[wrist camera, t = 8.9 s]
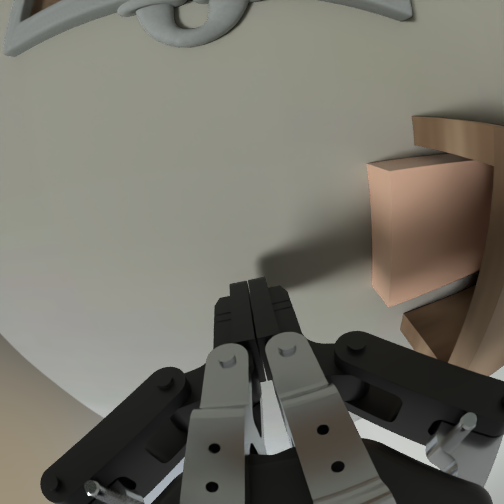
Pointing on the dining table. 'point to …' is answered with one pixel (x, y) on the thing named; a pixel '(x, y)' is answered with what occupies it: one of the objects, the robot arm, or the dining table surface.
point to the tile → (427, 222)
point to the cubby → (492, 268)
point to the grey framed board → (147, 18)
